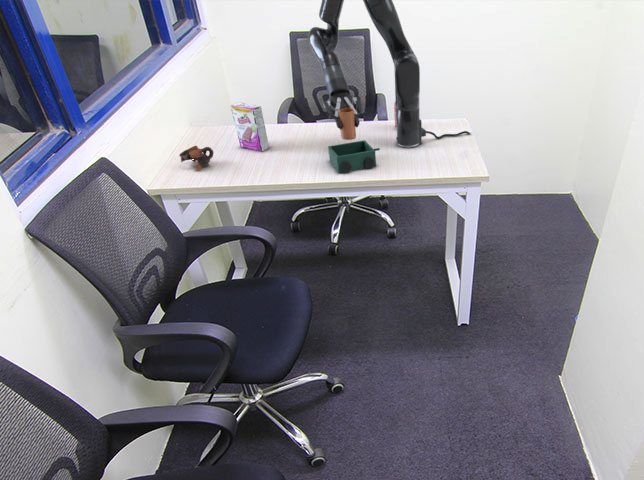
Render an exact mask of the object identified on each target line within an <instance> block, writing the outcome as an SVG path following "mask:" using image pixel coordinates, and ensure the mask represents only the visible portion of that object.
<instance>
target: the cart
mask: <svg viewBox="0 0 644 480" xmlns="http://www.w3.org/2000/svg"><path fill="white" fill-rule="evenodd" d="M374 149H375V148H373V147H372V146H371V145H370V144H369V142H368V141H366V140H365V139H364V140H358V141H352V142H346V143H340V144H334V145H328V146H327V150H328V158H329V163H330V164H331V165H332V167H333V168H334V170H336V172H337V173H338V174H343V172H342V171H341V169H340V166H341V164H342V163H343V162H349V163H350V164H351V167H352V168H351V171H350V172H353V171H358V170H364V169H367V168H366V167H365V166H364V161H365V159H366V158H369V157H370V158H372V159H373V160H374V161H375V165H374V167H373V168H375V167H377V158H376V157H377V155H376V151H375V150H374Z"/></svg>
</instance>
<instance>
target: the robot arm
mask: <svg viewBox="0 0 644 480" xmlns="http://www.w3.org/2000/svg"><path fill="white" fill-rule="evenodd" d="M362 1H363V4H364V7H365V9H366V11H367V13H368V15H369V18H370V21H371V22H372V23H373V25H374V27H375V30H377V32H378V33H379V35H380V36H381V38H382V39H383V41H384V42H385V45H386V46H387V49H388V52H389V54H390V56H391V59H392V63H393V66H394V69H393V70H394V94H395V99H396V100H395V101H396V124H397V128H396V145H397V146H398V147H400V148H405V149H410V148H411V149H412V148H416V147H418V146H421V145H422V143H423V141H422V140H423V139H422V138H423V137H426V136H427V134H428V135H429V134H430V135H432V136H433V137H434V138H435V139H436V140H440V139H442V138H444V137H458V136H461V135H463V134H467V135H471V133H470V132H469V131H467V130H463V131H461V132H458V133H443V134H441V135H440V136H437V135H436V133H435V132H433V131H430V130H426V129H425V128H424V127H423V126H422V124H423V123H422V119H420V118H421V117H420V92H421V88H420V87H421V83H420V82H421V70H420V63H419V62H420V61H419V59H418V57H417V55H416V54H415V53H414V50H413V49H412V47H411V45H410V43H409V41H408V39H407V38H406V36H405V33H404V30H403V27H402V24H401V21H400V17H399V14H398V11H397V9H396V6H395V4H394V2H393V0H362ZM344 3H345V0H321V4H320V8H319V11H318V12H319V13H318V17H319V19H320V20H321V21H322V22H323V23H326V25H327V26H326V28H324V27H323V28H322V27H320V26H314V27H311V28H310V29H309V31H308V34H307V39H308V41H307V42H308V44H309V47H310V49H311V51H312V53H313V54H314V56H315V58H316V59H317V61H318V62H319V65H320V68H321V71H322V76H323V81H324V85H325V87H326V90H327V94H328V97H329V100H323V102H322V107H323V109H324V111H325V113H326V115H327V117H328V119H329V120H334V121H335V124H336V128H337V129H338V130H341V129H342V124H341V120H340V117H339V112H338V111H339V109H342V108H352V109H354V116H355V127H356V128H358V127H359V126H360V119H359V116H361V113H362V102H361V101H362V100H361V96H359V95H357V96H356V97H354V96H353V95H352V94H351V92H350V88H349V85H348V81H347V78H346V75H345V72H344V69H343V67H342V64H341V61H340V57H339V55H338V54H337V53H336V52H335V50H336V49H337V48H338V45H339V30H340V29H339V28H340V25H339V24H340V18H341V15H342V10H343V5H344ZM352 103H354V105H356V106H354V105H353V104H352ZM331 107H333V108H334V113H333V111H332V109H331ZM355 107H356V108H355Z"/></svg>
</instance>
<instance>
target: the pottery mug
mask: <svg viewBox="0 0 644 480" xmlns="http://www.w3.org/2000/svg"><path fill="white" fill-rule="evenodd" d="M207 152H209V154H208V155H207ZM214 154H215V153H214V150H213V149H212V148H211V146H205V147H203V148H199V147H198V145H193V146H191V147H189V148H187V149H185V150H184V151H183V150H182V152H181V153H179V157H180V162H181V163H183V162H185V161H190V160H191V161H192V162H193V163H195V162H197V163H196V164H194V165H193V166H194V168H195V169H196V171H197V172H199V171H200V170H202V169H205V168H208V167H210V163H211V162H210V161H211V159H212V158H213V157H214ZM192 159H194V160H192Z"/></svg>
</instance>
